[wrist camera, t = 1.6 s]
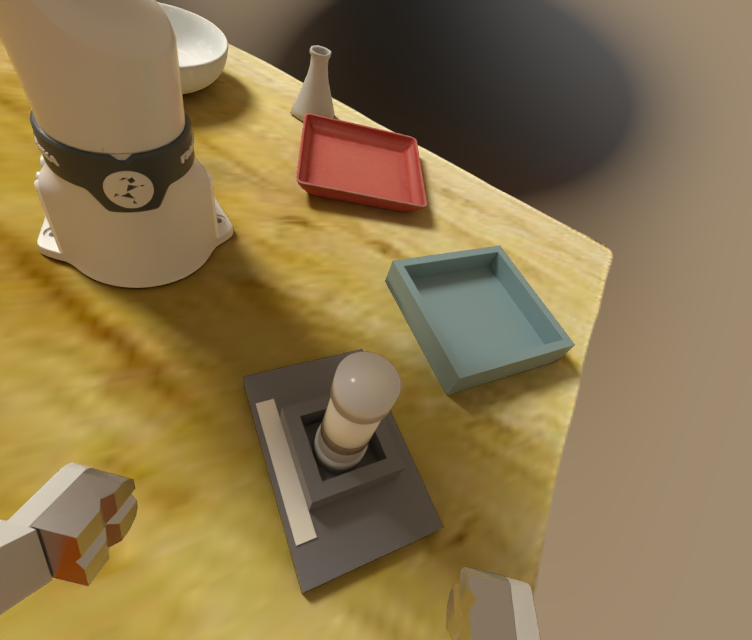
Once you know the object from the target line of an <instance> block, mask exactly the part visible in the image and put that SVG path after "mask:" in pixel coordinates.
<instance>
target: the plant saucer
mask: <svg viewBox="0 0 752 640" xmlns="http://www.w3.org/2000/svg"><path fill="white" fill-rule="evenodd" d="M296 180H297V182H298V184H299V185H300V186H301V187H302V188H303V189H304V190H305V191H306V192H308V193H309V194H311V195H315V196H320V197H325V198H331V199H336V200H342V201H347V202H352V203H358V204H363V205H368V206H374V207H379V208H384V209H389V210H395V211H400V212H411V211H415V210H419V209H422V208H424V207H426V206H427V201H426V195H425V189H424V183H423V177H422V170H421V164H420V158H419V152H418V145H417V141H416V139H415V138H413V137H410V136H406V135H402V134H398V133H393V132H389V131H385V130H380V129H376V128H372V127H367V126H363V125H359V124H355V123H350V122H346V121H341V120H337V119H333V118H328V117H324V116H319V115H315V114H310V113H308V114H305V116H304V122H303V129H302V136H301V144H300V151H299V159H298V166H297V173H296Z"/></svg>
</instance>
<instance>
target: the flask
mask: <svg viewBox="0 0 752 640" xmlns="http://www.w3.org/2000/svg"><path fill="white" fill-rule="evenodd" d="M310 54H311V63H310V67H309V71H308V75H307V77H306V79H305V81H304V83H303V86H302V88H301V90H300V92H299V94H298V96H297V98H296V100H295V102H294V105H293V107H292V110H291V114H292V115H294V116H295V117H297V118H298V119H299V120H301V121H302V122H304V116H305V114H308V113H310V114H315V115H319V116H324V117H328V118H334V108H333V103H332V98H331V94H330V88H329V81H328V59H329V58H330V56H331V51H330V50H328V49H327V48H325V47H321V46H318V45H316V46H312V47H311V48H310Z"/></svg>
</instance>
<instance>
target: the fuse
mask: <svg viewBox="0 0 752 640" xmlns="http://www.w3.org/2000/svg"><path fill="white" fill-rule="evenodd" d="M400 390H401V380H400V376H399V374H398V372H397V370H396V368H395V367H394V366H393V364H392V363H391V362H390V361H388V360H387V359H386V358H384V357H382V356H380V355H378V354H375V353H371V352H357V353H353V354H351V355H349V356H347V357H346V358H344V359H343V360H342V361H341V362H340V364H339V365H338V367H337V370H336V373H335V376H334V379H333V382H332V386H331V391H330V394H331V398H330V401H329V404H328V407H327V410H326V412H325V415H324V418H323V421H322V423H321V424H320V426H319V428H318V430H317V432H316V436H315V439H314V442H313V454H314V457H315V460H316V461H317V463H318V464H319V465H320V466H321V467H322V468H323V469H324V470H326V471H328V472H330V473H334V474H343V473H347V472H349V471H351V470H353V469H354V468H355V467H356V466H357V465H358V464H359V462H360V461H361V459H362V457H363V456H364V454H365V452H366V450H367V446H368V443H369V441H370V439H371V438H372V436H373V433H374V432H375V430H376V428H377V427H378V425H379V423H380V421H381V420H382V419H383V418H385V417H386V416H387V414H388V413H389V412H390V410H391V408H392V407H393V405H394V403H395V401H396V400H397V398H398V396H399V394H400Z"/></svg>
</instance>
